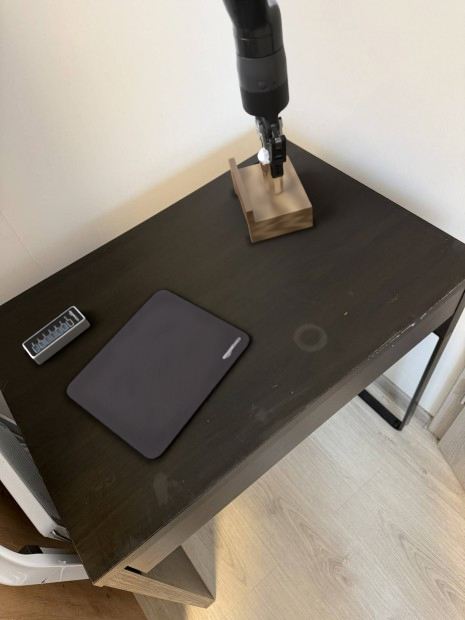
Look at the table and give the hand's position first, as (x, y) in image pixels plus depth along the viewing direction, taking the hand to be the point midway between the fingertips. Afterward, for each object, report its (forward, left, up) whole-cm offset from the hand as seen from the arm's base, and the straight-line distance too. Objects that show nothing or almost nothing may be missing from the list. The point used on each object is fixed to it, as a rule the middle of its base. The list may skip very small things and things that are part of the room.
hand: (273, 166), depth 86 cm
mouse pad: (+28, +28, -10) cm, 41 cm away
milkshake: (0, 0, -6) cm, 6 cm away
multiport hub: (+45, +17, -11) cm, 49 cm away
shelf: (+1, -1, -10) cm, 11 cm away
